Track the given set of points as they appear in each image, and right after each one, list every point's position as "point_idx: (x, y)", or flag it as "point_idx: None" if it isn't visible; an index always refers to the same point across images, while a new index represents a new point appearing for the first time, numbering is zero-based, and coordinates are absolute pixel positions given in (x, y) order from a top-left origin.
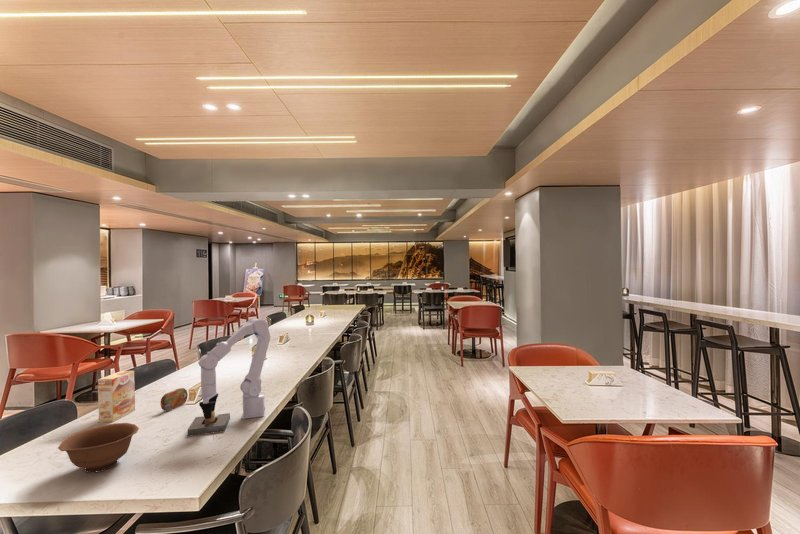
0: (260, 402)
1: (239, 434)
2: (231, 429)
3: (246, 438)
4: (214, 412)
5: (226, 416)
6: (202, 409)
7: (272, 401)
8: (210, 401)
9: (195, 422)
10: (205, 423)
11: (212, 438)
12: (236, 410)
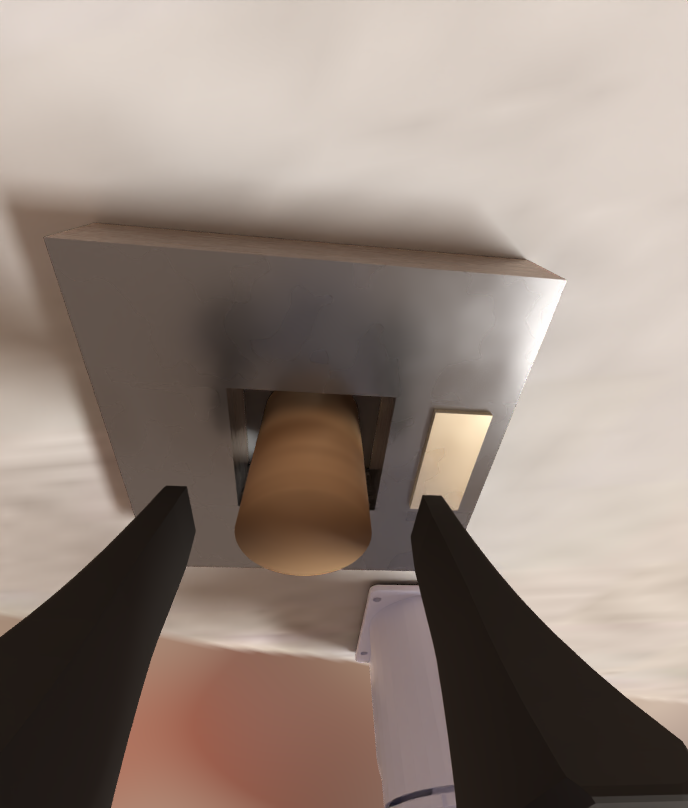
0: (379, 761)
1: None
2: None
3: (20, 613)
4: (297, 574)
5: (372, 559)
6: (9, 632)
7: None
8: (466, 682)
9: (332, 310)
10: (272, 418)
11: (20, 461)
12: (602, 548)
